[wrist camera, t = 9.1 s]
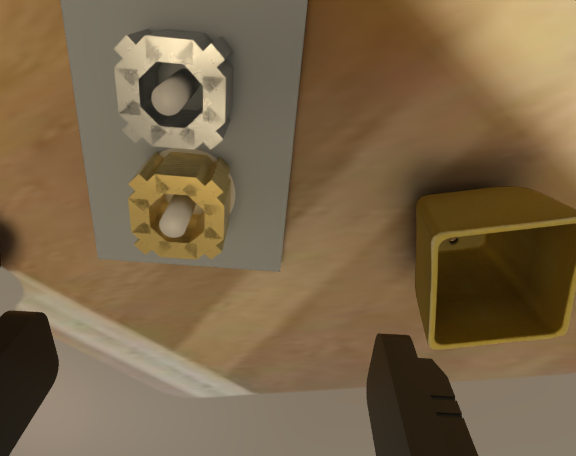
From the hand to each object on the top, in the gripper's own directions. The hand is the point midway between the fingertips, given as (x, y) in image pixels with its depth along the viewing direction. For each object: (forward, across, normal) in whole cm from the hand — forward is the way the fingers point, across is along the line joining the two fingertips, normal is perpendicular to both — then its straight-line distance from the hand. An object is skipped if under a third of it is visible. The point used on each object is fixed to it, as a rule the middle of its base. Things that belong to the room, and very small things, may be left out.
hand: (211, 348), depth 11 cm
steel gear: (+20, +5, -3) cm, 20 cm away
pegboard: (+21, +5, +1) cm, 22 cm away
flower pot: (+22, -15, +7) cm, 27 cm away
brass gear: (+20, +5, +5) cm, 21 cm away
